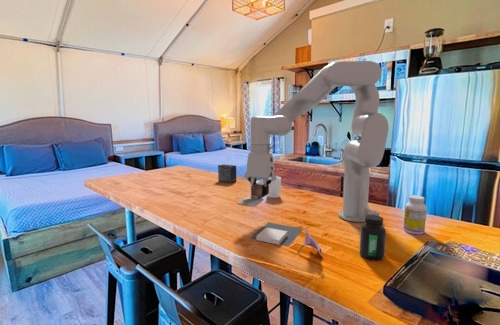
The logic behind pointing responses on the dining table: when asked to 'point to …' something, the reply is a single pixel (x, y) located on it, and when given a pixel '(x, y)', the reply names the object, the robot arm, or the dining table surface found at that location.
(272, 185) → the white cup
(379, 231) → the supplement bottle
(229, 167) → the small box
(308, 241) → the lily
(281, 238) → the tile
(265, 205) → the dining table surface
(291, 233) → the mat
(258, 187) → the brown and grey block
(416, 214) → the supplement bottle
